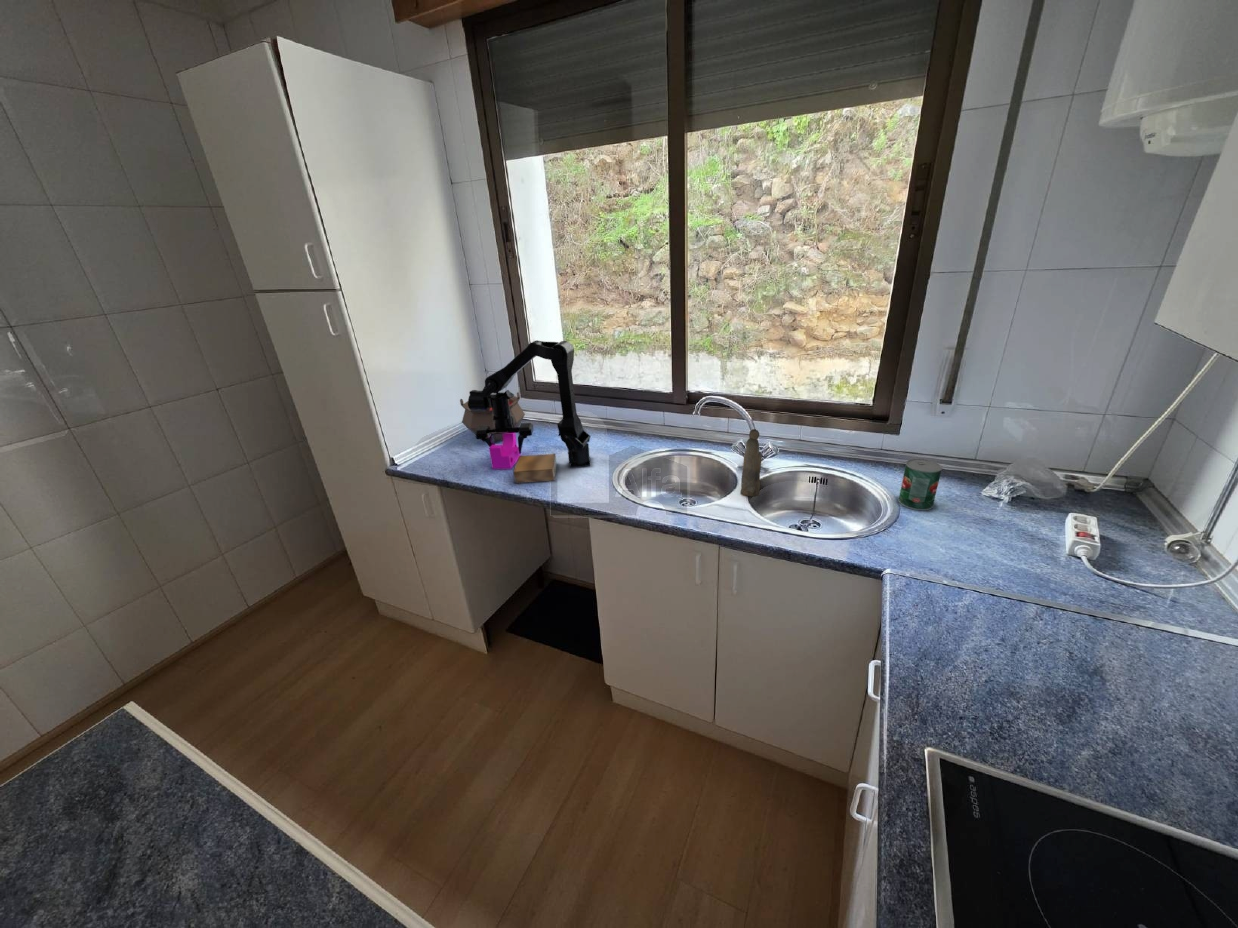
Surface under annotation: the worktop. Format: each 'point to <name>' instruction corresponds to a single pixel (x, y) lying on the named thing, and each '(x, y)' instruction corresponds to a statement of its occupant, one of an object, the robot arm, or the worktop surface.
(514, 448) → the toy block
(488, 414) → the brown faceted pot
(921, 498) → the canned tomato
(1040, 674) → the worktop surface
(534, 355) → the robot arm
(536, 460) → the plinth
